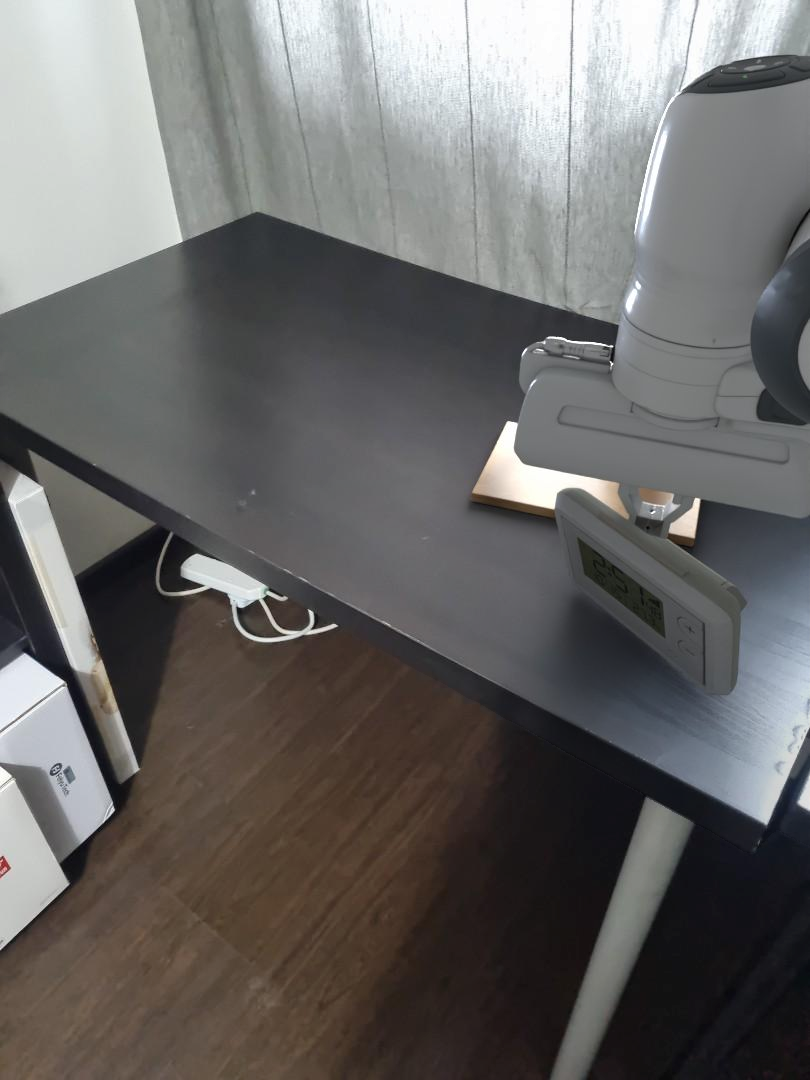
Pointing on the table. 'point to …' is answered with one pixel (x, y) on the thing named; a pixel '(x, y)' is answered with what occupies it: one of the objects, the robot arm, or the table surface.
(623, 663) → the table surface
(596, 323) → the table surface
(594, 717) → the table surface
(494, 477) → the wooden board
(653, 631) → the digital clock
